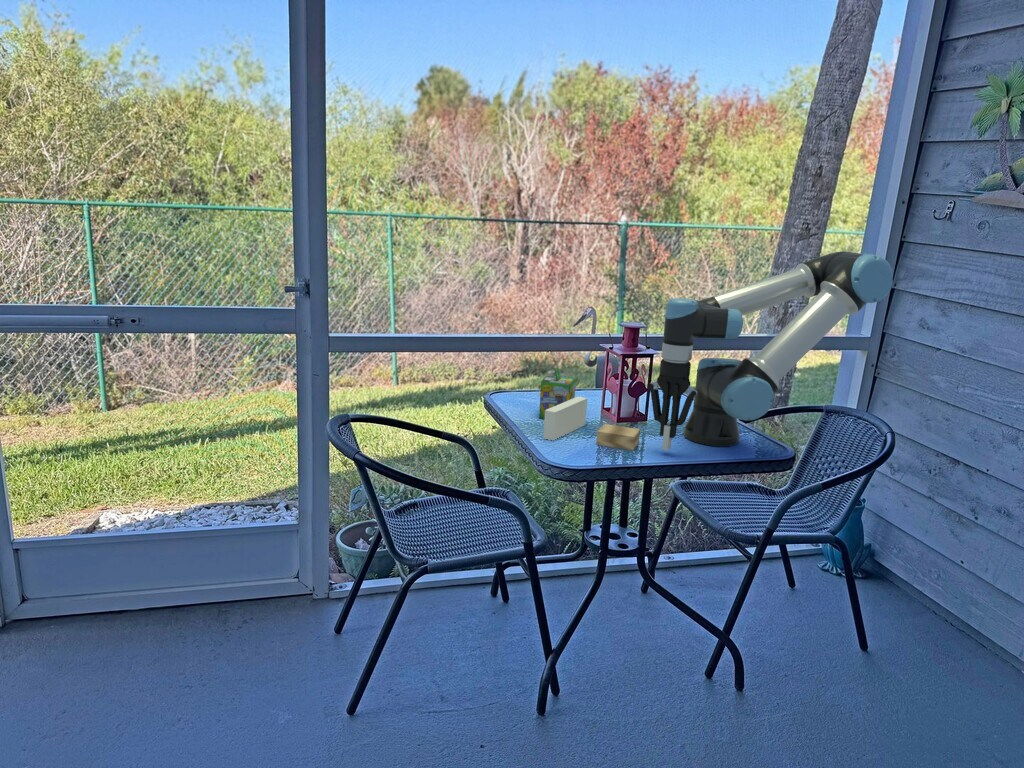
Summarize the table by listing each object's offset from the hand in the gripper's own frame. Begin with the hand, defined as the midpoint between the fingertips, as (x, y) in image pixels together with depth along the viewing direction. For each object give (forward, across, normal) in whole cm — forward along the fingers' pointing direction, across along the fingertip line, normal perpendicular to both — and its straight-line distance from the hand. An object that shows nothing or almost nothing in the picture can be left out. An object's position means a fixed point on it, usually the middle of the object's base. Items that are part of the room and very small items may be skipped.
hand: (666, 448), depth 192 cm
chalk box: (+2, +38, -12) cm, 40 cm away
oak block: (+2, +14, 0) cm, 14 cm away
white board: (+2, +30, 0) cm, 30 cm away
